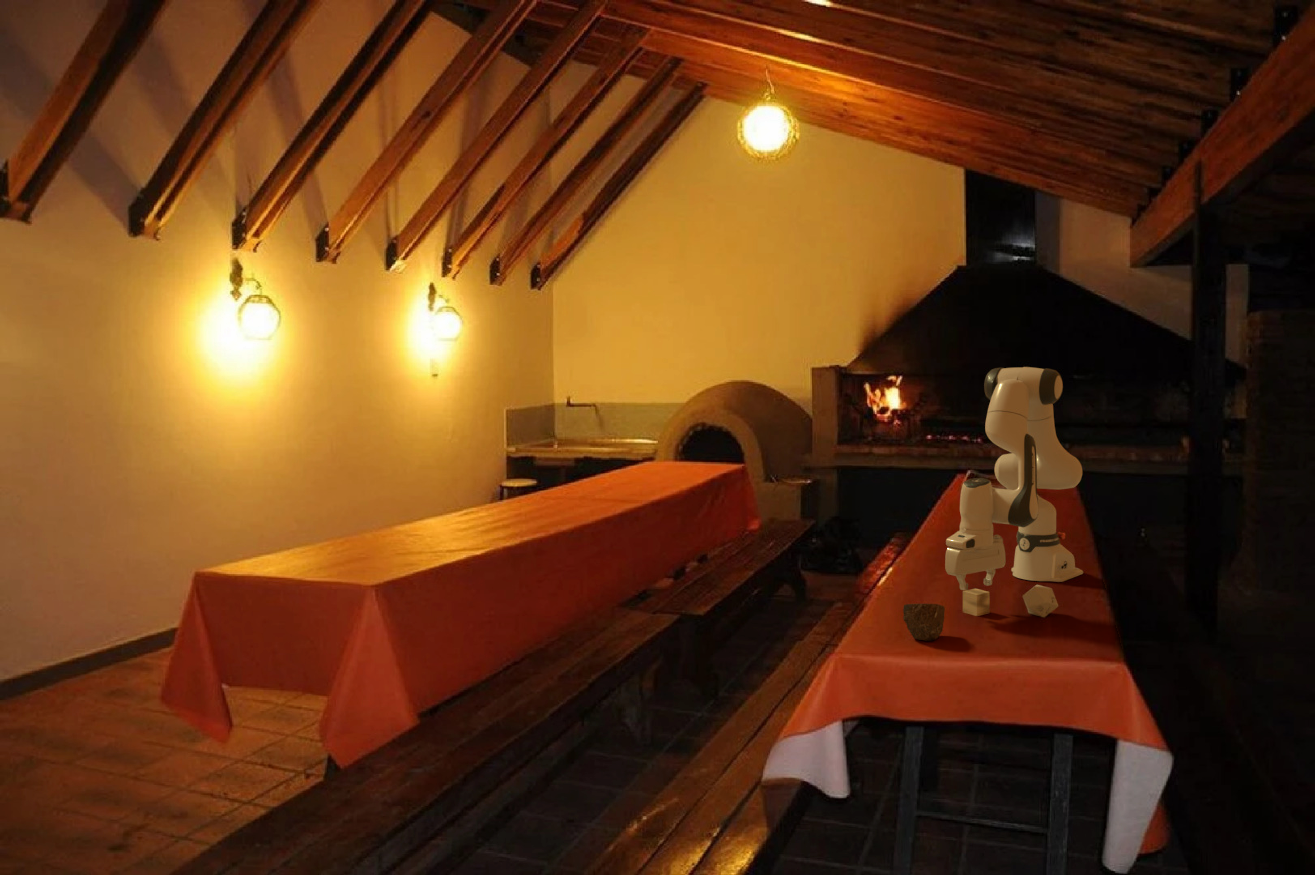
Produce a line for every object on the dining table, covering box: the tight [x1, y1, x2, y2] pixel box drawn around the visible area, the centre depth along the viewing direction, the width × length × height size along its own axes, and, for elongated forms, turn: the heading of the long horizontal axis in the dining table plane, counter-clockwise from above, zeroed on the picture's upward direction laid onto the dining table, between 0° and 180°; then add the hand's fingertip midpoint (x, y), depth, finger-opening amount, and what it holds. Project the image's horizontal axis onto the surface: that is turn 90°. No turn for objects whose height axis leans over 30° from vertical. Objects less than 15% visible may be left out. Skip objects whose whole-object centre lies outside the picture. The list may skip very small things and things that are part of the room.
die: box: [1022, 584, 1059, 618], centre depth 273 cm, size 8×9×10 cm
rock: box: [902, 603, 946, 642], centre depth 255 cm, size 12×10×10 cm
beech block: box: [962, 588, 990, 617], centre depth 277 cm, size 5×5×6 cm
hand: (975, 587), depth 277 cm, fingers open, 8 cm apart
